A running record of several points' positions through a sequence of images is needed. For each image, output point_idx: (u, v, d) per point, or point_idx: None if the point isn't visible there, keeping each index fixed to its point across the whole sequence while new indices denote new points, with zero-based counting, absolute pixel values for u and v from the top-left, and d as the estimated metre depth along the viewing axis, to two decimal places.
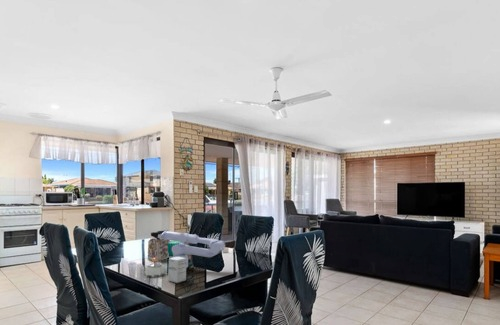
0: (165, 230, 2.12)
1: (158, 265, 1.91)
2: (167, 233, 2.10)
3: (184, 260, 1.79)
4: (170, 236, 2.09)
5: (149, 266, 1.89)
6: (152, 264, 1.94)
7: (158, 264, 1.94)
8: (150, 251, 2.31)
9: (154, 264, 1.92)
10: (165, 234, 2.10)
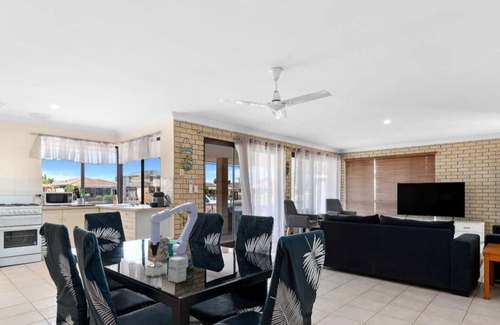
0: (149, 240, 1.99)
1: (158, 265, 1.91)
2: (152, 237, 1.98)
3: (184, 260, 1.79)
4: (156, 232, 1.99)
5: (149, 266, 1.89)
6: (152, 264, 1.94)
7: (158, 264, 1.94)
8: (150, 251, 2.31)
9: (154, 264, 1.92)
10: (153, 239, 1.98)
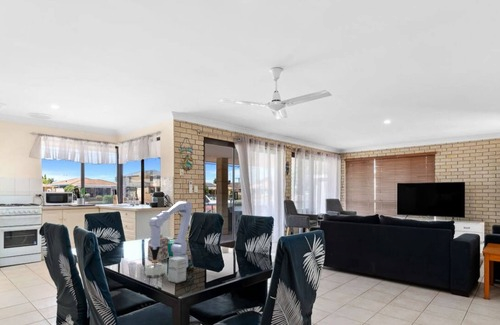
0: (149, 245, 1.92)
1: (158, 266, 1.91)
2: (152, 241, 1.91)
3: (184, 260, 1.79)
4: (158, 236, 1.92)
5: (149, 267, 1.89)
6: (152, 265, 1.93)
7: (158, 265, 1.94)
8: (150, 251, 2.31)
9: (154, 265, 1.92)
10: (153, 243, 1.91)
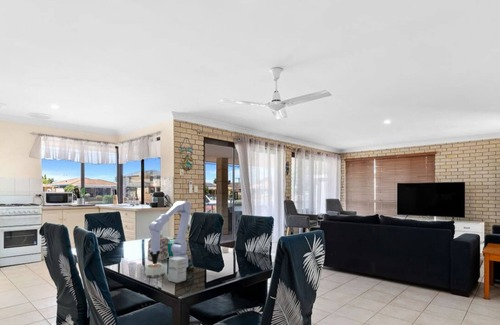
0: (149, 249, 1.91)
1: None
2: (152, 245, 1.91)
3: (184, 260, 1.79)
4: (158, 240, 1.92)
5: None
6: None
7: None
8: (150, 251, 2.31)
9: None
10: (153, 247, 1.91)
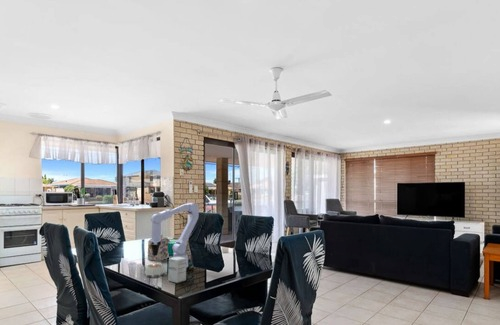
0: (150, 240, 2.00)
1: None
2: (153, 237, 1.99)
3: (184, 260, 1.79)
4: (157, 232, 1.99)
5: None
6: None
7: None
8: (150, 251, 2.31)
9: None
10: (154, 238, 1.99)
